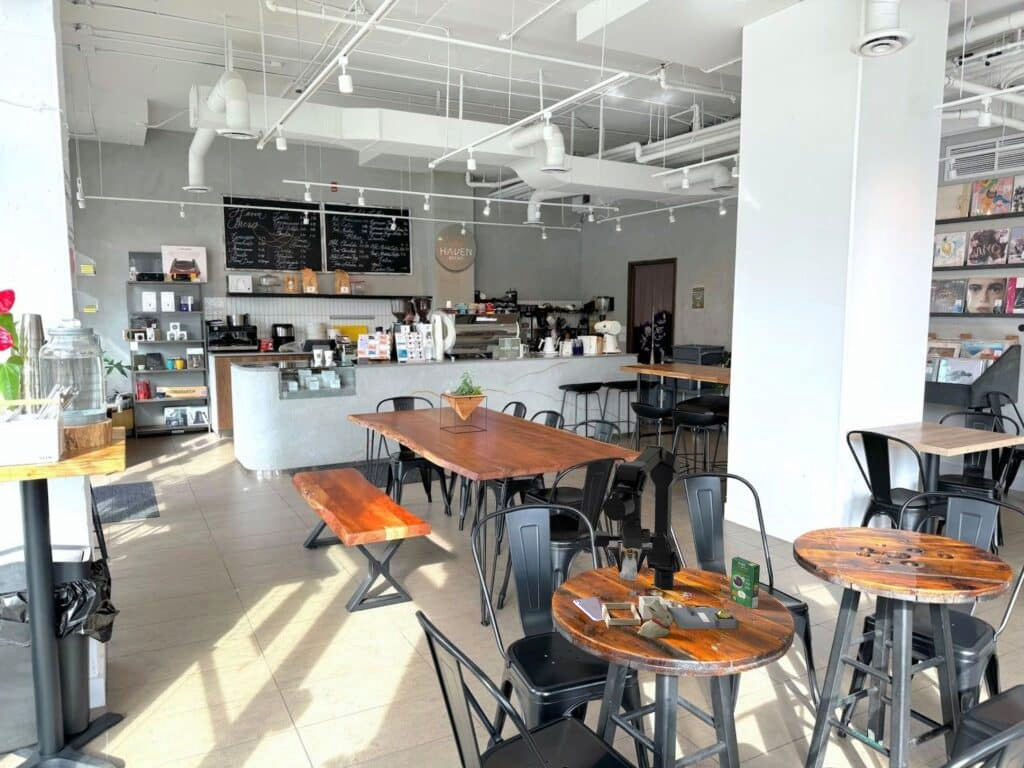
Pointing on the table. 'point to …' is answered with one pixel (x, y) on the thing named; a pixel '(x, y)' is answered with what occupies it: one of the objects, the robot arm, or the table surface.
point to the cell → (629, 564)
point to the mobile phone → (591, 607)
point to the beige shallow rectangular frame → (620, 621)
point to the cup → (647, 600)
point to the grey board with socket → (701, 618)
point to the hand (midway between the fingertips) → (628, 572)
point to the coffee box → (745, 582)
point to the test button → (724, 613)
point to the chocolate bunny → (657, 621)
